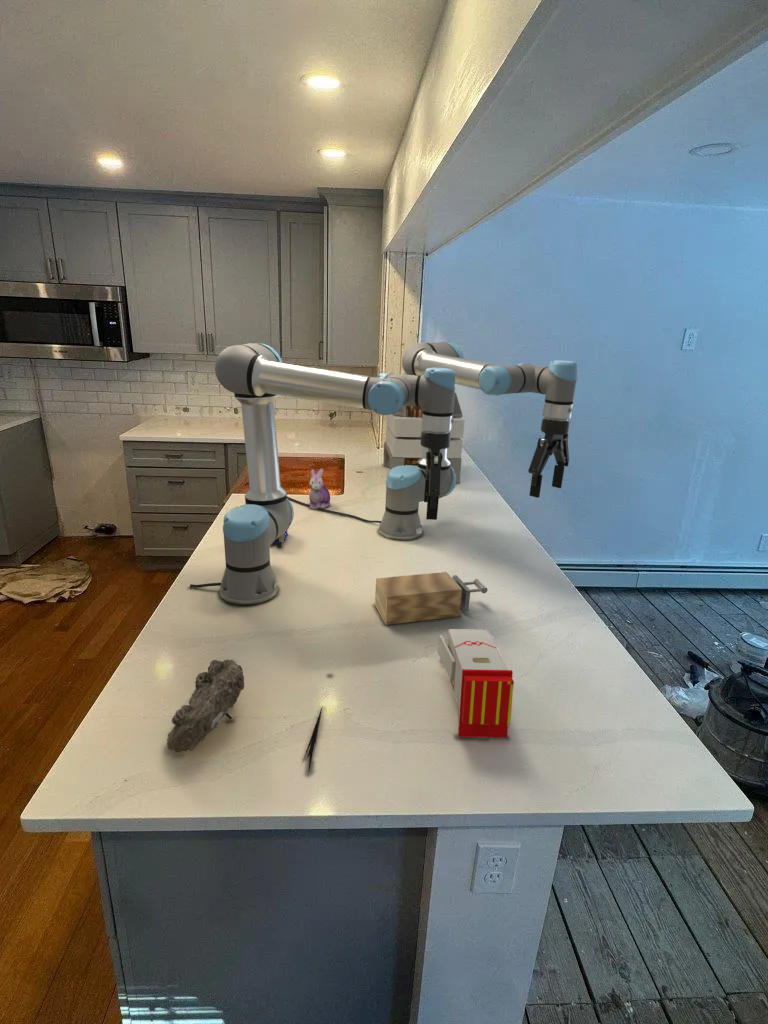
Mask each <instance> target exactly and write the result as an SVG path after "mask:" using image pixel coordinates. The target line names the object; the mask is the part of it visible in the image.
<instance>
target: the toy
mask: <svg viewBox="0 0 768 1024" xmlns="http://www.w3.org/2000/svg"><path fill="white" fill-rule="evenodd" d="M446 640H447V643H446V641H445V639H444V636H443V635H442V634H439V637H438V646H437V656H438V657H439V659H440V661H441V663H442V666H443V668H444V670H445V672H446V674H447V677H448V679H449V681H450V684H451V687H452V690H453V693H454V697H455V701H456V705H457V708H458V711H459V714H458V715H459V716H458V730H457V731H458V732H457V737H458V738H508V731H509V726H510V725H511V717H512V707H513V697H514V696H513V695H514V684H515V680H514V679H513V673H514V671H513V670H512V669H508V667H507V665H506V662H505V661H504V659H503V658H502V655H501V653H500V651H499V649H498V647H497V643H496V639H495V637H494V635H493V634H491V632H490V631H489V629H467V628H466V629H465V628H463V629H461V628H460V629H459V628H448V630H447V639H446Z"/></svg>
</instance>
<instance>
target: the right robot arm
mask: <svg viewBox="0 0 768 1024" xmlns="http://www.w3.org/2000/svg"><path fill="white" fill-rule="evenodd" d="M401 364H402V366H401V367H402V369H403V371H404V373H405V375H416V376H422V375H424V374H425V371H426V369H427V368H447V369H451V370H453V371H454V372H455V387H456V386H457V385H458V386H463V387H467V388H471V389H476V390H480V391H482V392H483V393H484V394H486V395H488V396H502V395H510V394H511V395H512V394H525V393H532V394H533V393H534V394H541V395H545V396H544V402H543V403H544V404H543V410H542V416H543V417H542V419H541V426H540V431H541V432H542V433H544V437H543V438H542V437H538V439H537V445H536V448H535V450H534V453H533V455H532V459H531V462H530V465H529V468H528V471H527V472H528V474H531V479H530V480H531V481H530V487H529V495H528V496H530V497H533V498H536V499H539V498H540V495H541V488H542V483H543V473H542V472H543V470H544V469H545V467H546V465H547V463H548V460H549V459H550V456H552V455H553V457H554V460H555V463H556V464H554V468H553V475H552V482H551V487H553V488H557V489H562V487H563V480H564V473H565V467H569V464H570V453H569V433H570V425H571V421H570V419H571V418H572V413H573V412H574V409H573V406H574V396H575V392H576V386H577V381H578V371H579V364H578V363H577V362H576V361H572V360H562V359H559V360H557V359H556V360H551V361H550V362H549V366H545V365H544V366H543V365H536V364H532V363H517V364H516V365H500V364H495V363H489V362H484V361H479V360H473V359H467V358H465V354H464V351H463V350H461V348H460V347H459V345H457V344H455V343H452V342H445V341H444V342H417V343H414V344H411V345H410V346H408V347H407V348H406V350H405V351H404V353H403V355H402V357H401ZM426 452H428V448H425V447H423V456H422V458H420V459H419V460H418V466H413V465H402V466H397V467H394V468H392V469H391V470H390V469H389V470H388V472H387V475H386V479H385V504H384V505H385V507H384V508H385V509H384V513H383V515H382V519H381V520H369V519H365V518H362V517H359V516H356V515H353V514H350V513H345V512H340V511H335V510H331V509H326V508H319V507H317V509H316V510H320V511H324V512H327V513H333V514H336V515H341V516H346V517H350V518H354V519H357V520H359V521H362V522H366V523H376V524H379V525H378V533H379V534H380V535H381V536H382V537H385V538H387V539H389V540H395V541H410V540H415V539H418V538H420V537H421V536H422V535H423V525H422V524H421V518H420V515H419V507H420V506H419V505H420V503H421V502H424V493H425V479H428V478H426V477H425V476H426V473H425V471H426V465H427V464H426ZM440 453H442V456H443V457H442V462H441V473H440V495H439V499H442V498H444V497H447V496H449V495H450V494H452V492H453V491H454V489H455V487H456V484H457V483H456V474H455V473H454V469H453V468H452V467H451V466H450V461H449V460H448V459H447V448H446V449H441V450H440ZM247 485H249V481H248V482H246V483H245V484H244V486H247ZM435 491H437V490H435ZM287 499H288V500H289V501H291V502H292V501H293V502H295V503H298V504H301V505H303V506H306V507H309V508H310V505H309V504H308V503H305V502H303V501H300V500H297V499H294V498H292V497H289V496H287Z"/></svg>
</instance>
